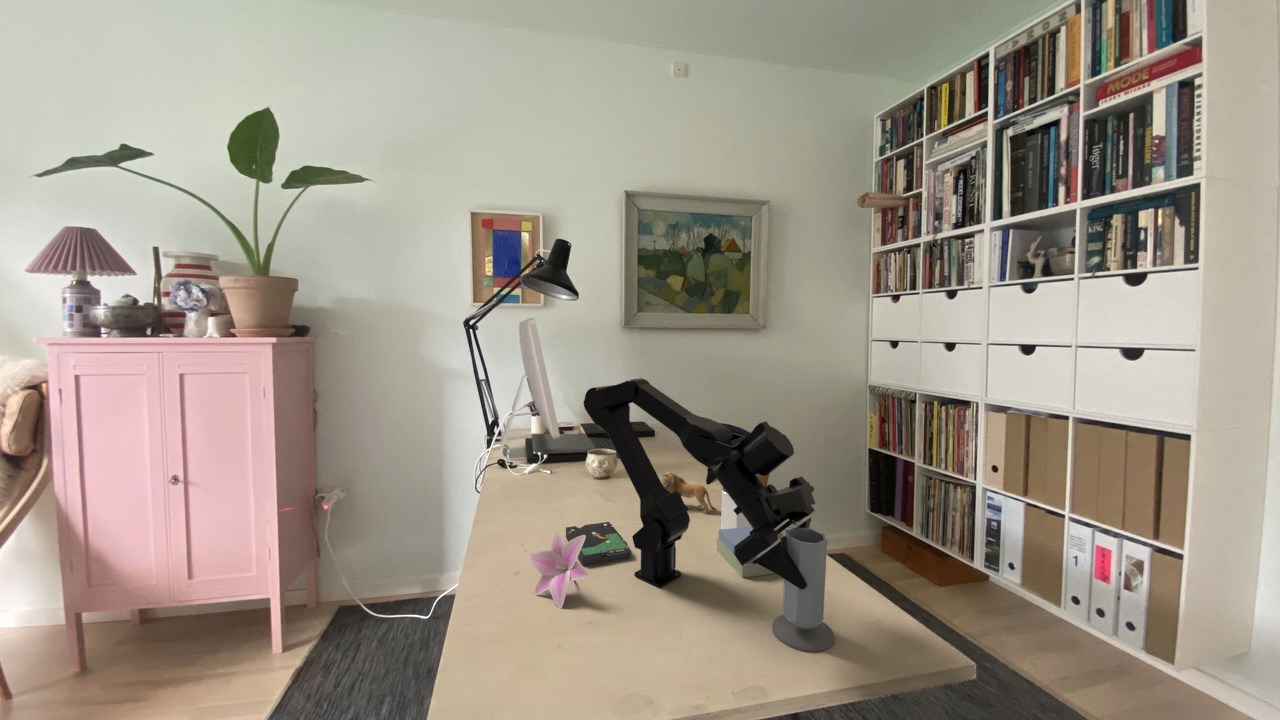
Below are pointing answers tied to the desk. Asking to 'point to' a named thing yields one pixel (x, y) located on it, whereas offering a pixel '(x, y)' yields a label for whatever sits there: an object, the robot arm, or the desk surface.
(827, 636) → the coaster
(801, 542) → the pen cup
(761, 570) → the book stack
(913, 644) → the desk surface
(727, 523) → the jar
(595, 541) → the disk drive
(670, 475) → the lion figurine
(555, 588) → the lily
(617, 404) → the robot arm
